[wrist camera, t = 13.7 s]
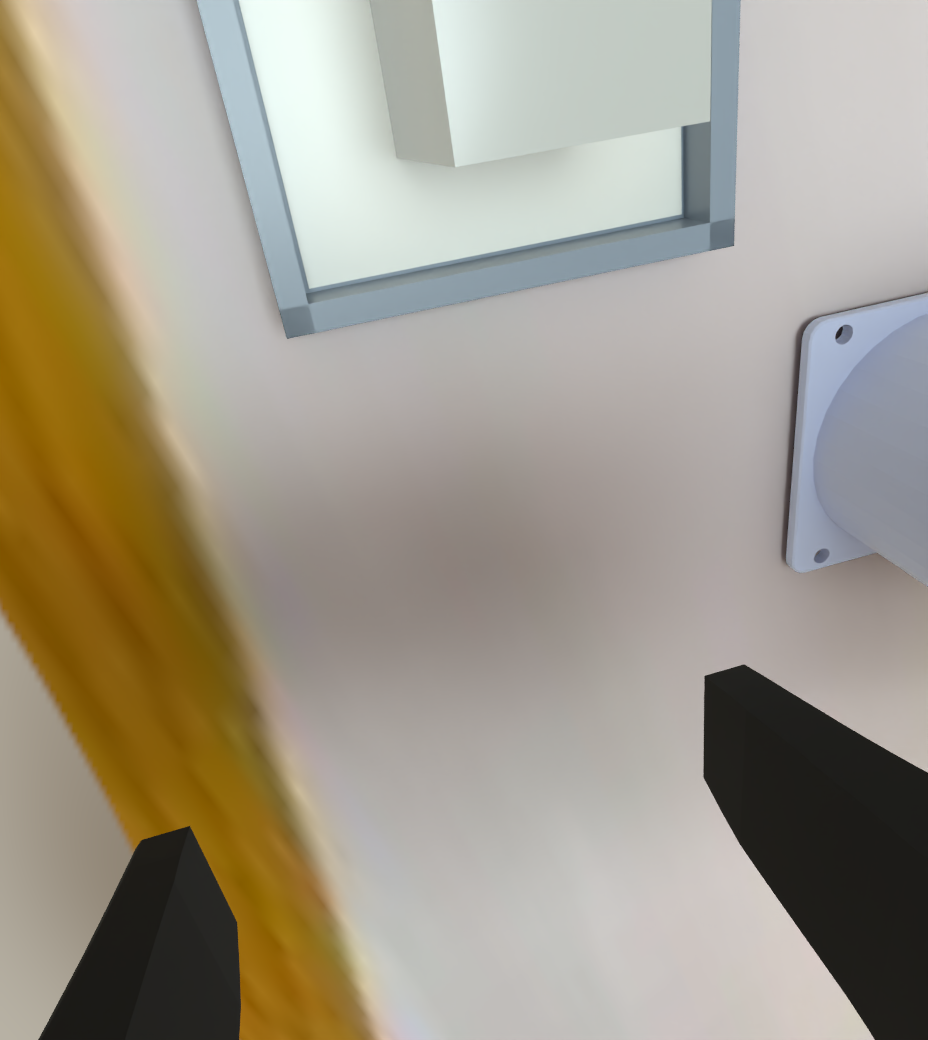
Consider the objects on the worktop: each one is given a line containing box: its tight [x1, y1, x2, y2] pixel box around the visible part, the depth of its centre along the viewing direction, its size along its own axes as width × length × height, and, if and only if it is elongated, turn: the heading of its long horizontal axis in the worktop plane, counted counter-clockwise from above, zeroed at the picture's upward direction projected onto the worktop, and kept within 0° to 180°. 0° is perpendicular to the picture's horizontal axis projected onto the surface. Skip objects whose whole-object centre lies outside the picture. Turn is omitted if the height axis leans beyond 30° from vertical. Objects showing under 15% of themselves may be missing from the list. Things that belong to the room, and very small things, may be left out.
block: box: [369, 0, 712, 167], centre depth 12 cm, size 4×4×6 cm
